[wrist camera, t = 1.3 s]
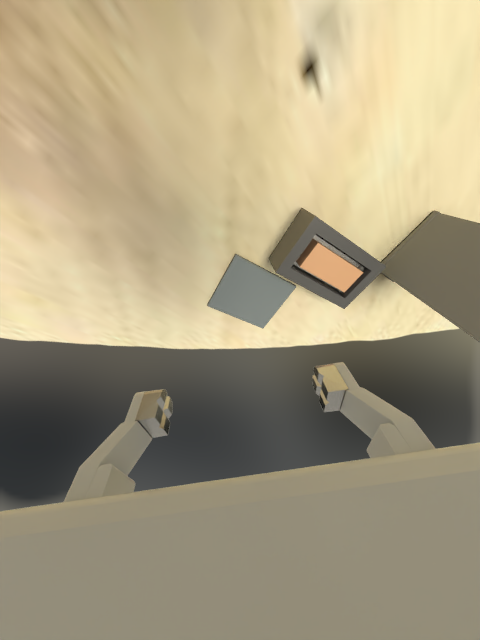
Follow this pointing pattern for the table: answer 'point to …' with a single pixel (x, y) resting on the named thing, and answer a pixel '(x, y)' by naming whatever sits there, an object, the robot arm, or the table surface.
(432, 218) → the grey flat-topped box
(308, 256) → the tile
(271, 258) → the pocket block
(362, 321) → the table surface
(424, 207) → the table surface
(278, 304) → the mat
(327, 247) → the plate
